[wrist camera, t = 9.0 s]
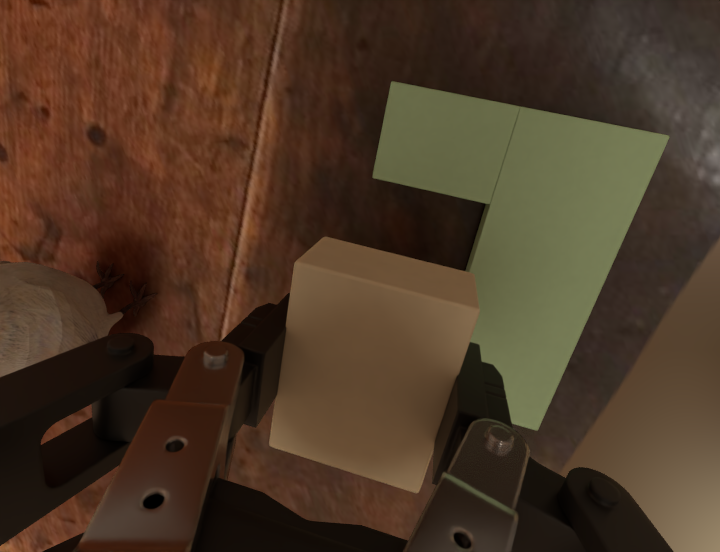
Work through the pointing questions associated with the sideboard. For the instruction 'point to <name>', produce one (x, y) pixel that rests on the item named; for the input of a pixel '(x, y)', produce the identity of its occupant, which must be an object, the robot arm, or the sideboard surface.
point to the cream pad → (370, 359)
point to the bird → (52, 312)
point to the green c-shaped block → (524, 218)
